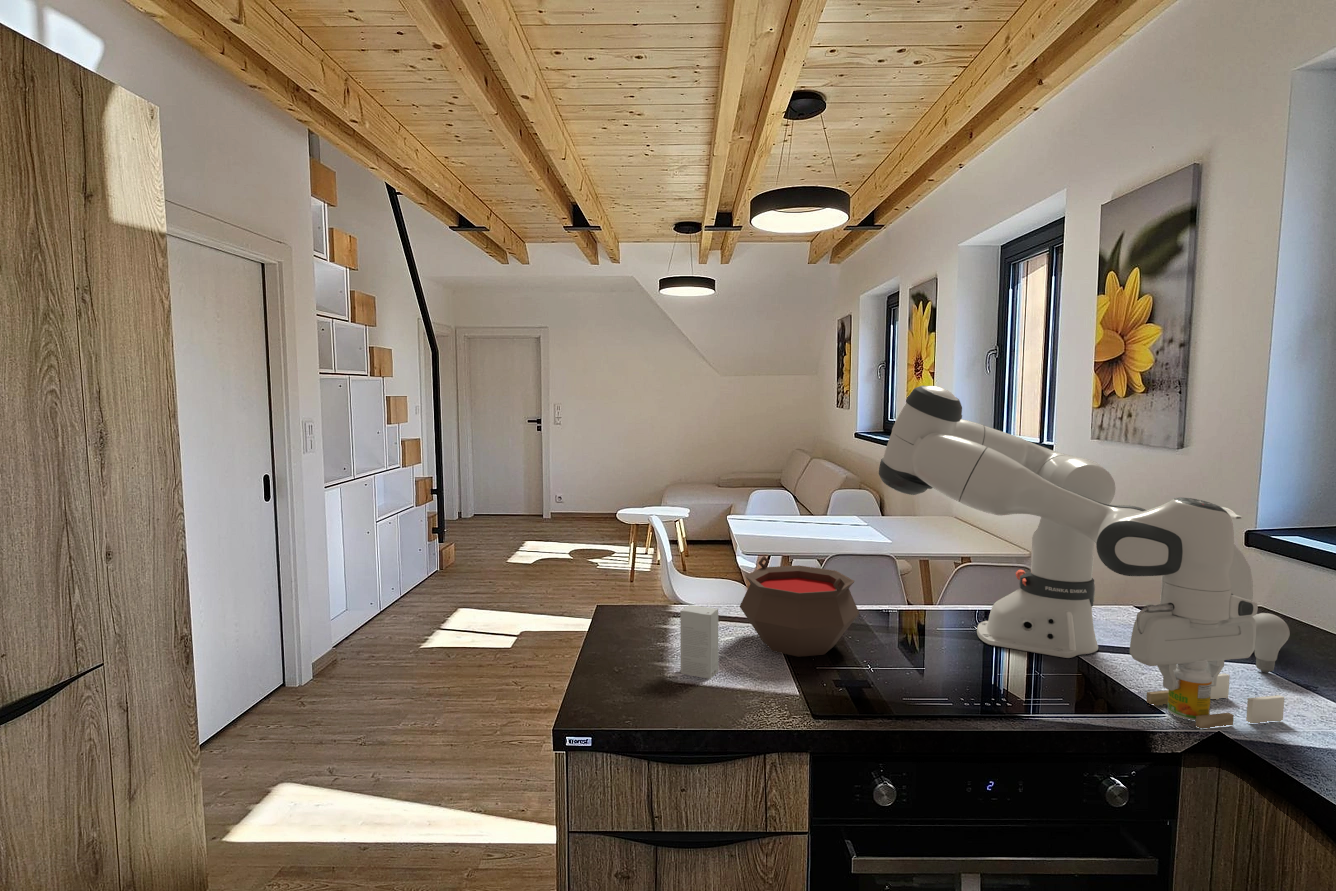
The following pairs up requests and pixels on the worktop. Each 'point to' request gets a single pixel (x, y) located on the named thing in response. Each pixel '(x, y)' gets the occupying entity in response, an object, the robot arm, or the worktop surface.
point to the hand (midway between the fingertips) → (1189, 687)
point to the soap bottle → (1240, 570)
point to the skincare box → (699, 641)
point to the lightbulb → (1269, 639)
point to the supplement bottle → (1191, 691)
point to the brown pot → (799, 608)
